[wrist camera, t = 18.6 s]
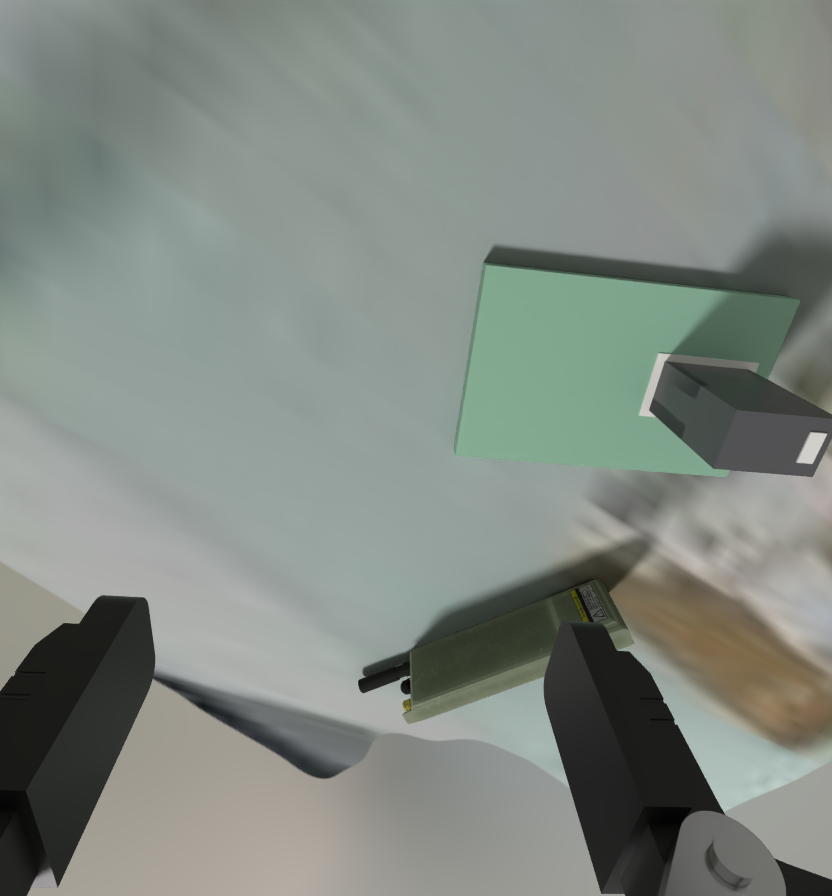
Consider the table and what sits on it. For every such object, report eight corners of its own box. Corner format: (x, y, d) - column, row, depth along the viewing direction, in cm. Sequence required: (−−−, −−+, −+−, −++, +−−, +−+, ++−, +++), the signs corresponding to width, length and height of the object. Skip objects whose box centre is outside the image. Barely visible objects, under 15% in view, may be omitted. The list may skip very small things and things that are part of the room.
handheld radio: (608, 596, 51) (369, 687, 55) (598, 570, 50) (353, 665, 53) (637, 650, 45) (365, 748, 49) (626, 622, 44) (347, 725, 47)
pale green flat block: (453, 448, 43) (461, 481, 38) (483, 262, 37) (496, 274, 32) (718, 469, 45) (756, 503, 40) (789, 296, 39) (843, 313, 34)
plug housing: (648, 410, 41) (714, 469, 33) (664, 361, 39) (737, 410, 31) (729, 417, 41) (813, 477, 33) (749, 369, 40) (842, 420, 31)
